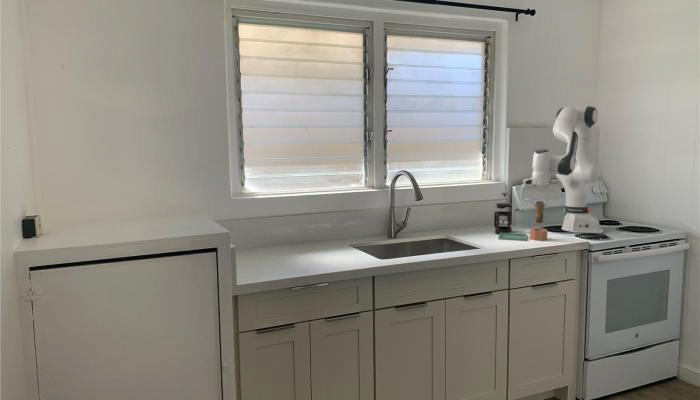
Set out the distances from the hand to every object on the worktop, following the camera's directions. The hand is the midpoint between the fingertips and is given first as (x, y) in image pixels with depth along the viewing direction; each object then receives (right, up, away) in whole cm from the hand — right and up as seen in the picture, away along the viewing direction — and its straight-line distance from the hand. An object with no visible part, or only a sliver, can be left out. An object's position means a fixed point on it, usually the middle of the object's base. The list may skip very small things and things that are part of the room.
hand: (539, 207), depth 280 cm
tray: (-12, -17, +7) cm, 22 cm away
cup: (0, -18, +2) cm, 18 cm away
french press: (-13, -15, +24) cm, 31 cm away
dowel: (0, -8, +1) cm, 8 cm away
